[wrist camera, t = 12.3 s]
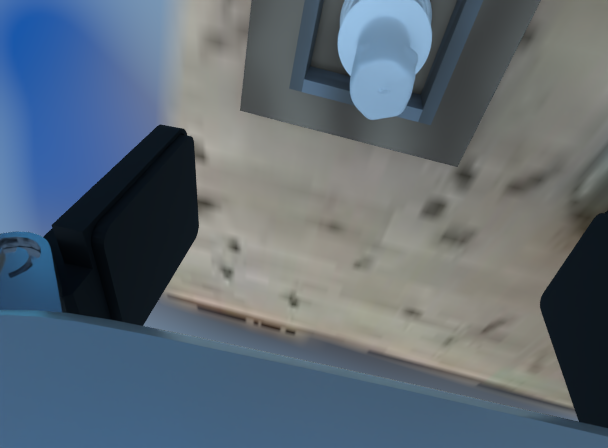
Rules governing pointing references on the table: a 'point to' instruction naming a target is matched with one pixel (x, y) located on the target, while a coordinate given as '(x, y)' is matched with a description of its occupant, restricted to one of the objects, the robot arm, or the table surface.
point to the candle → (383, 52)
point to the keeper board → (336, 81)
